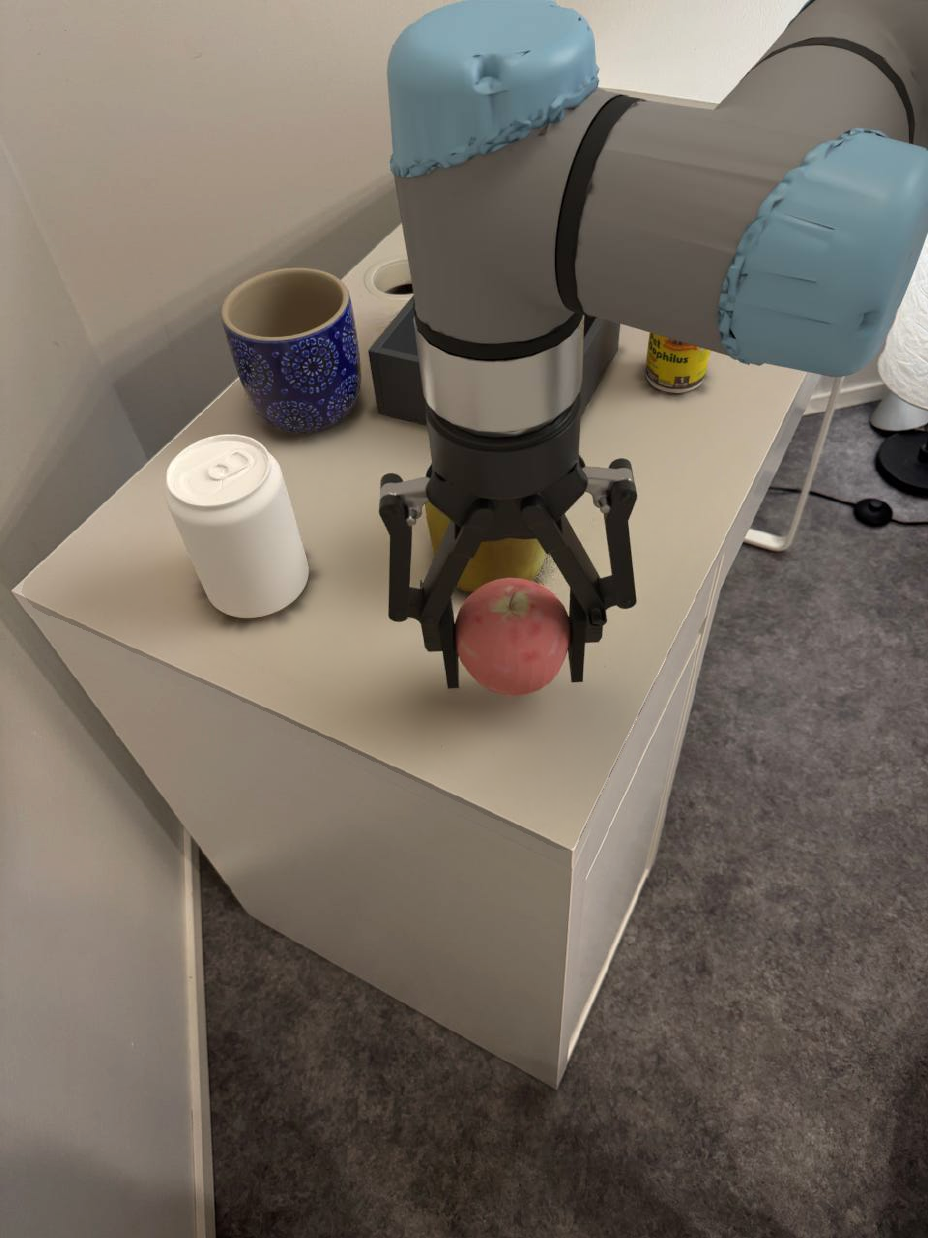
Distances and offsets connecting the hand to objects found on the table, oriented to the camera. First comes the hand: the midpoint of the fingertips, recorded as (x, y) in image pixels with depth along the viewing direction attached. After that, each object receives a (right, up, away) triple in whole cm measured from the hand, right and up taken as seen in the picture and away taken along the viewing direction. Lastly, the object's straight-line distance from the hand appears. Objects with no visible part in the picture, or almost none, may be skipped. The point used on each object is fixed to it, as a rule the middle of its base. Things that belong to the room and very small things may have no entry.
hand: (514, 668), depth 61 cm
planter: (-18, +23, +23) cm, 37 cm away
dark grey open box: (0, +26, +24) cm, 35 cm away
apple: (0, 0, 0) cm, 1 cm away
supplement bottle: (+16, +26, +23) cm, 38 cm away
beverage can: (-19, +6, +10) cm, 23 cm away
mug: (-1, +9, +11) cm, 15 cm away
